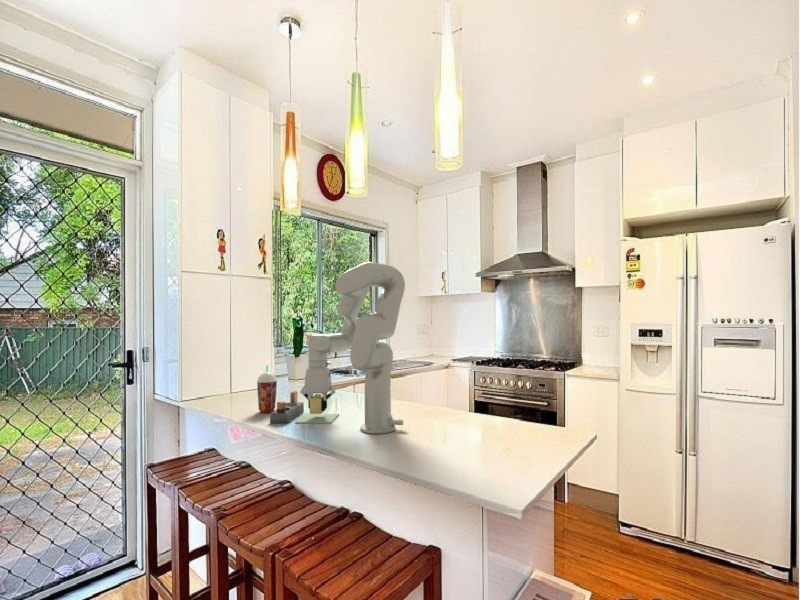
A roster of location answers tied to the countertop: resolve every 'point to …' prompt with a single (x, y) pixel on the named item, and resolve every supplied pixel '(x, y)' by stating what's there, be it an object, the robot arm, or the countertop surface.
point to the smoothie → (266, 392)
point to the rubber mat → (317, 419)
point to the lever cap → (316, 404)
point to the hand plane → (287, 410)
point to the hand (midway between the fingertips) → (317, 409)
